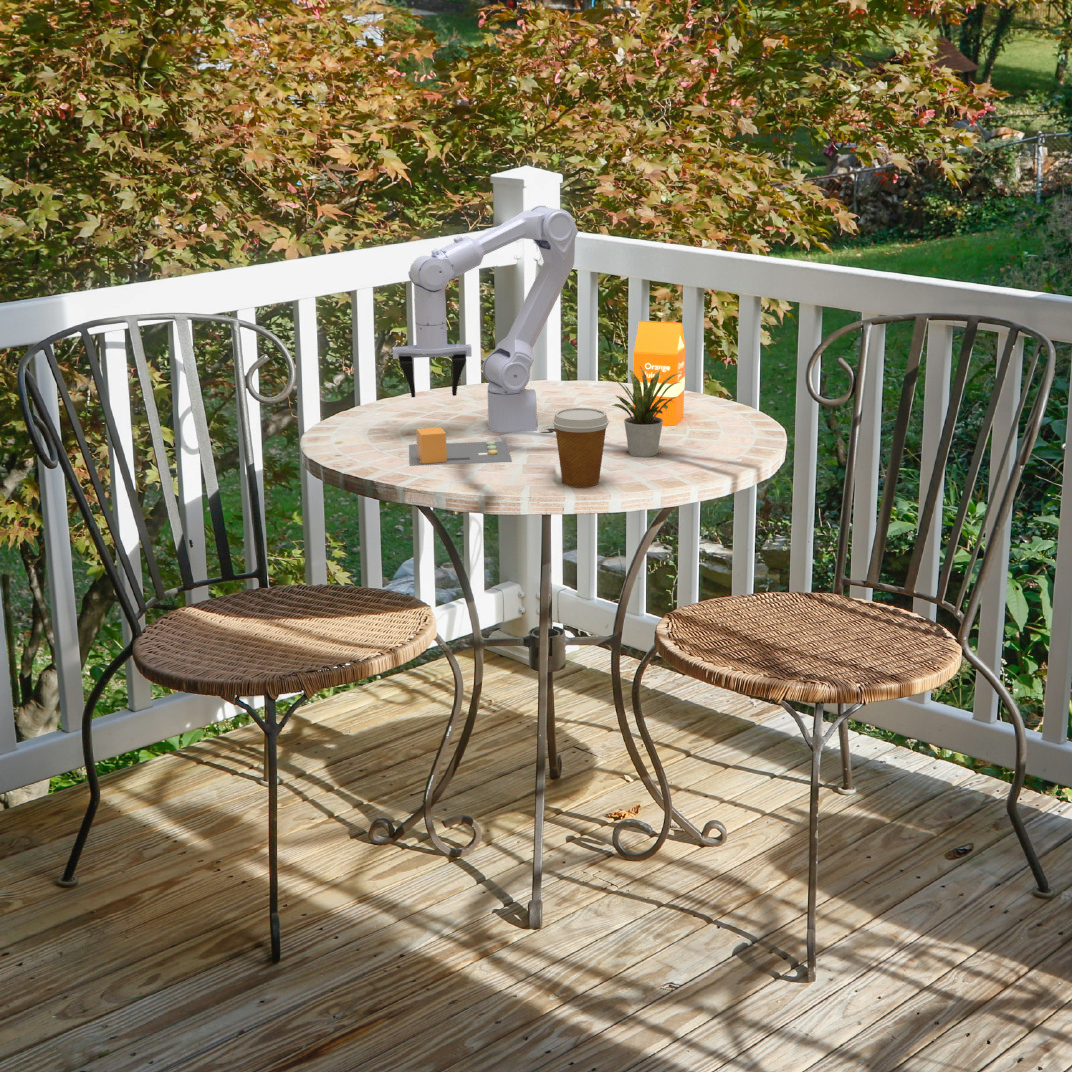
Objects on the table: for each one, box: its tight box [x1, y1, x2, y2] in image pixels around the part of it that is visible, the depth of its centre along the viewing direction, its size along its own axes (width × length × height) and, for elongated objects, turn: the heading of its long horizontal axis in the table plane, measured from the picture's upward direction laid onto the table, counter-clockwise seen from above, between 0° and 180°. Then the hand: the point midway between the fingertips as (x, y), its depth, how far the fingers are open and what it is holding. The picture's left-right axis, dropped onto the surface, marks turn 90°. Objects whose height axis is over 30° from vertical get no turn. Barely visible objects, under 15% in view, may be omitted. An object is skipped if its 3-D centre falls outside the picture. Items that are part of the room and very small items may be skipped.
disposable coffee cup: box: [552, 407, 610, 488], centre depth 221 cm, size 10×10×12 cm
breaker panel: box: [408, 440, 513, 467], centre depth 236 cm, size 18×14×2 cm
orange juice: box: [632, 320, 686, 427], centre depth 260 cm, size 8×9×20 cm
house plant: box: [606, 365, 683, 458], centre depth 237 cm, size 14×14×16 cm
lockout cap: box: [415, 426, 447, 464], centre depth 231 cm, size 4×4×5 cm
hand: (433, 395), depth 245 cm, fingers open, 7 cm apart
